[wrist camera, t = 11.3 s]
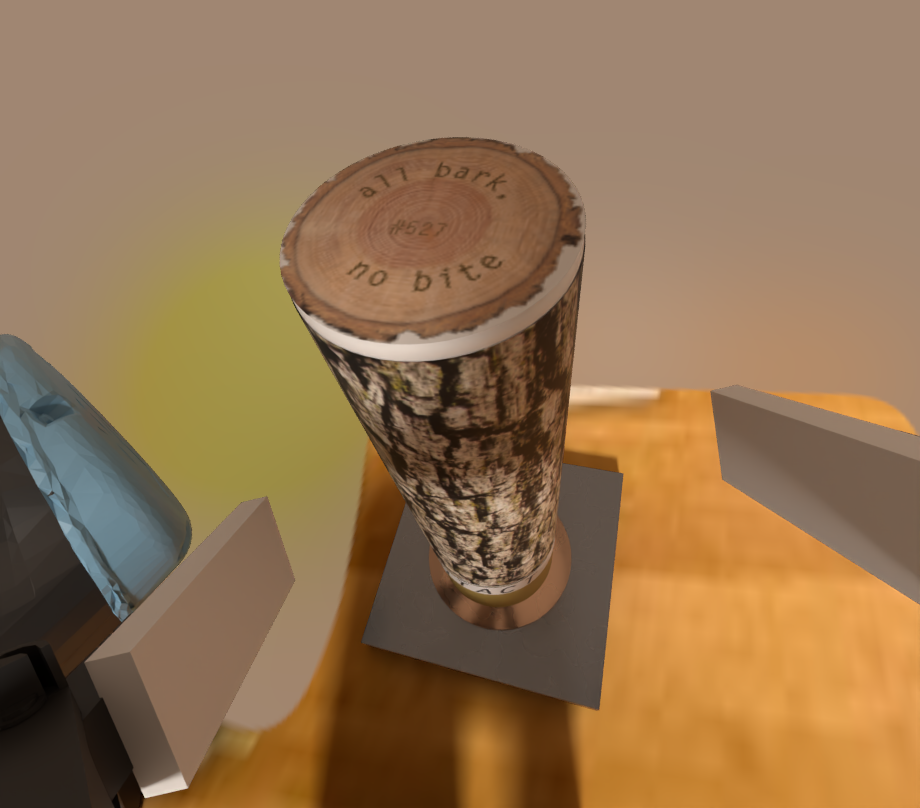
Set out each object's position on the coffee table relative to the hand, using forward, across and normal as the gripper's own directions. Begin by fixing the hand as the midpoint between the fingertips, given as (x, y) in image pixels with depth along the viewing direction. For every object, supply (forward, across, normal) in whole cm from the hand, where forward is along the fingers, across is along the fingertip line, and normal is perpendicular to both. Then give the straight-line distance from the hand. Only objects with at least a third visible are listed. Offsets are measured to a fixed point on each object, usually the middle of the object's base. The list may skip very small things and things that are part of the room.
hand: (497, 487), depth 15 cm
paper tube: (+16, 0, -11) cm, 19 cm away
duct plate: (+17, 0, -12) cm, 21 cm away
